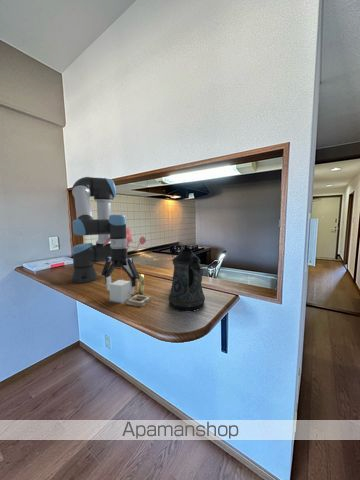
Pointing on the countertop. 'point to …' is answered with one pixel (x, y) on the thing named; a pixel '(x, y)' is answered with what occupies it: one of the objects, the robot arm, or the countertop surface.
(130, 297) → the peg plate
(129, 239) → the pink flower stem
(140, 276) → the pin
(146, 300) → the socket board
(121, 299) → the white block
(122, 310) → the countertop surface
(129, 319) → the countertop surface
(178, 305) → the beer stein
